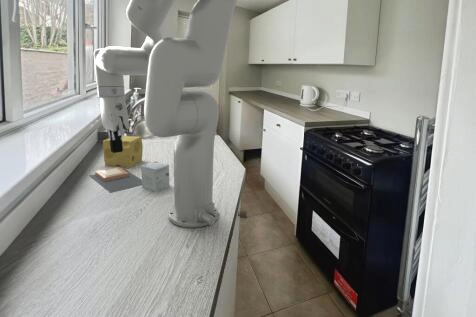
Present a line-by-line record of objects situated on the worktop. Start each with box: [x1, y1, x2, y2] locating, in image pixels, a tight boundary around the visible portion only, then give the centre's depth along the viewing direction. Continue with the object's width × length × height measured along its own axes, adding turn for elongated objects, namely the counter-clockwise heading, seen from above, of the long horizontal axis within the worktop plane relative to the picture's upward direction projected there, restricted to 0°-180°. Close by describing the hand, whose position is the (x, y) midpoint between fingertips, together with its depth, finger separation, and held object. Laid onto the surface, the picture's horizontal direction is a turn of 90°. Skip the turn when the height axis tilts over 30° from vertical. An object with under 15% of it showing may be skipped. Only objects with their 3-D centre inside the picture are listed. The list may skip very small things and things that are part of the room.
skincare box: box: [140, 161, 170, 192], centre depth 94 cm, size 6×6×7 cm
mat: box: [88, 168, 142, 194], centre depth 99 cm, size 18×12×1 cm, turn 44°
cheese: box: [102, 135, 144, 169], centre depth 115 cm, size 10×11×10 cm
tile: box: [94, 166, 129, 181], centre depth 102 cm, size 1×8×8 cm
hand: (116, 151), depth 96 cm, fingers closed
